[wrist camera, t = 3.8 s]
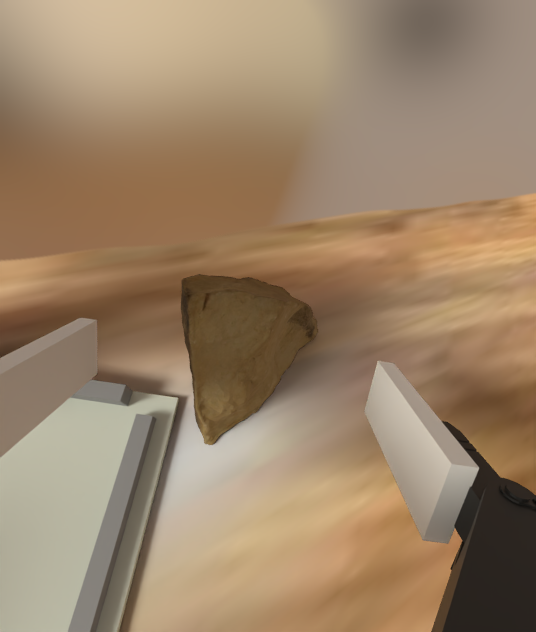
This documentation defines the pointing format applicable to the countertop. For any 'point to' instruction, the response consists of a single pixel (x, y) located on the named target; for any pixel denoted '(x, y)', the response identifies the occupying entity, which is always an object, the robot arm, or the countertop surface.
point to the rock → (238, 345)
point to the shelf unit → (79, 509)
